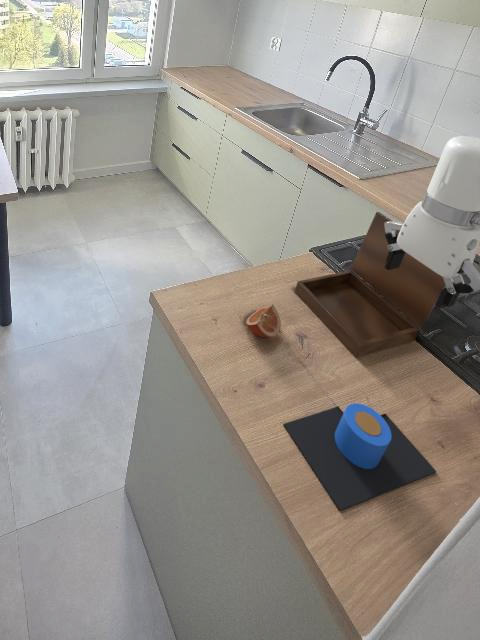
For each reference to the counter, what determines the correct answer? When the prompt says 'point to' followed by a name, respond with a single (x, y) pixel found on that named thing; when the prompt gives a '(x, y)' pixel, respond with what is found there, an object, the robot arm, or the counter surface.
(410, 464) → the mat
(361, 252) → the lid
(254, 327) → the fruit slice
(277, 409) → the counter surface
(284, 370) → the counter surface
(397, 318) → the chest
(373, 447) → the tape roll
